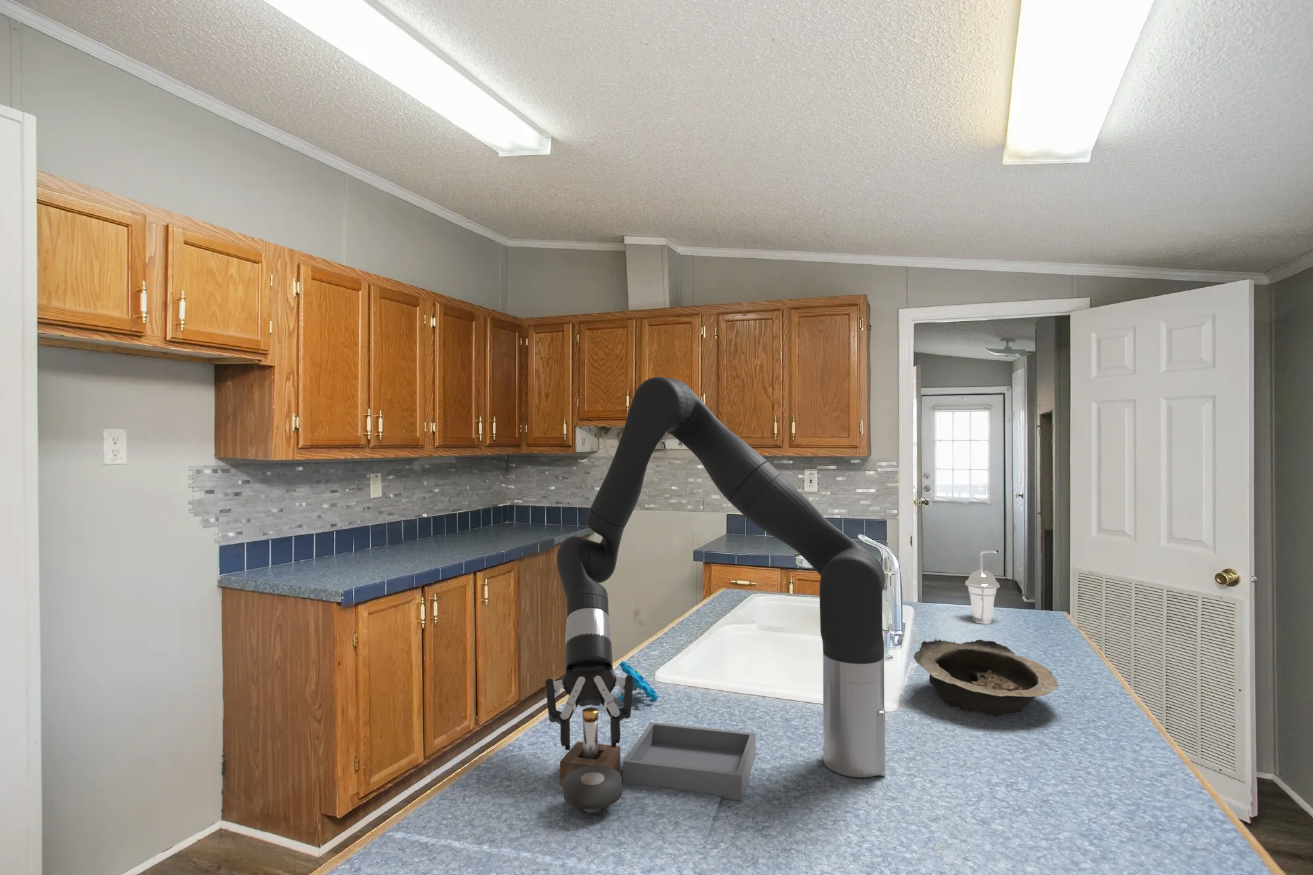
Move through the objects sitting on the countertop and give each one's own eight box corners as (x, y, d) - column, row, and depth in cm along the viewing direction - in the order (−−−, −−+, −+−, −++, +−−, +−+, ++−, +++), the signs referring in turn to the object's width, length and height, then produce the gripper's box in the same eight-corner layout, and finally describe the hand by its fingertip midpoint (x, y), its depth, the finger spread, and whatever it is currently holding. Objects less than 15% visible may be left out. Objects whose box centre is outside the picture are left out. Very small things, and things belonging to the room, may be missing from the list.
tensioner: (644, 775, 110) (644, 744, 110) (610, 831, 95) (610, 795, 94) (577, 766, 113) (577, 736, 113) (534, 819, 97) (534, 785, 97)
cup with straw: (992, 617, 198) (992, 544, 197) (1005, 626, 189) (1005, 550, 188) (960, 617, 198) (960, 544, 198) (971, 626, 189) (971, 550, 189)
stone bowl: (919, 670, 155) (922, 628, 154) (1051, 697, 144) (1055, 652, 144) (904, 710, 132) (908, 660, 132) (1059, 745, 122) (1064, 691, 121)
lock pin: (601, 773, 109) (600, 708, 109) (595, 781, 107) (595, 714, 107) (586, 772, 110) (585, 706, 110) (580, 779, 108) (579, 712, 107)
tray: (755, 755, 116) (755, 733, 116) (741, 800, 102) (741, 775, 102) (650, 743, 121) (650, 722, 121) (623, 785, 107) (623, 761, 107)
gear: (662, 701, 135) (624, 663, 136) (640, 725, 134) (602, 687, 135) (659, 688, 146) (623, 653, 147) (638, 710, 145) (603, 675, 146)
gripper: (543, 633, 115) (540, 739, 103) (633, 629, 116) (640, 733, 105) (545, 656, 120) (542, 759, 108) (631, 652, 122) (638, 753, 110)
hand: (590, 746), depth 107 cm, fingers open, 6 cm apart
